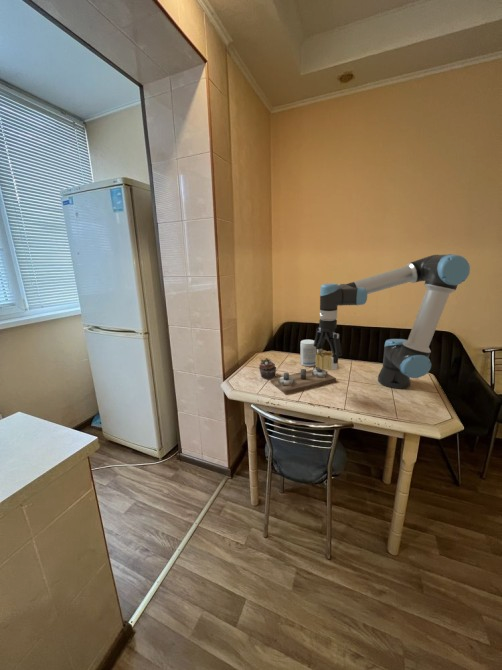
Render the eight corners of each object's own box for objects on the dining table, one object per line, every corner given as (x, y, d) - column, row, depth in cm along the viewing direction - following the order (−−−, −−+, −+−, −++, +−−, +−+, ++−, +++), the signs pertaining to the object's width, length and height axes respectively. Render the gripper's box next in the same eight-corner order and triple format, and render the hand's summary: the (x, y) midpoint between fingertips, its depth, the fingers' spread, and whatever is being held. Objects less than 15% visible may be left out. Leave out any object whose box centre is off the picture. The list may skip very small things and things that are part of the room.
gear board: (335, 381, 149) (336, 369, 147) (285, 394, 137) (285, 381, 135) (318, 371, 162) (318, 360, 160) (271, 382, 150) (270, 370, 148)
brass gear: (342, 367, 128) (342, 355, 127) (324, 371, 125) (325, 359, 123) (328, 360, 137) (328, 349, 136) (311, 364, 133) (311, 352, 132)
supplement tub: (319, 364, 172) (320, 341, 168) (308, 368, 167) (308, 345, 163) (307, 360, 180) (308, 338, 176) (296, 363, 175) (297, 341, 171)
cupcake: (270, 381, 152) (270, 363, 150) (256, 376, 158) (255, 360, 155) (279, 374, 160) (279, 358, 157) (265, 371, 165) (265, 355, 163)
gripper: (306, 315, 133) (305, 359, 139) (338, 325, 113) (336, 375, 119) (319, 313, 136) (318, 356, 142) (352, 322, 116) (349, 372, 122)
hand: (326, 365), depth 131 cm, fingers closed on brass gear, 10 cm apart
